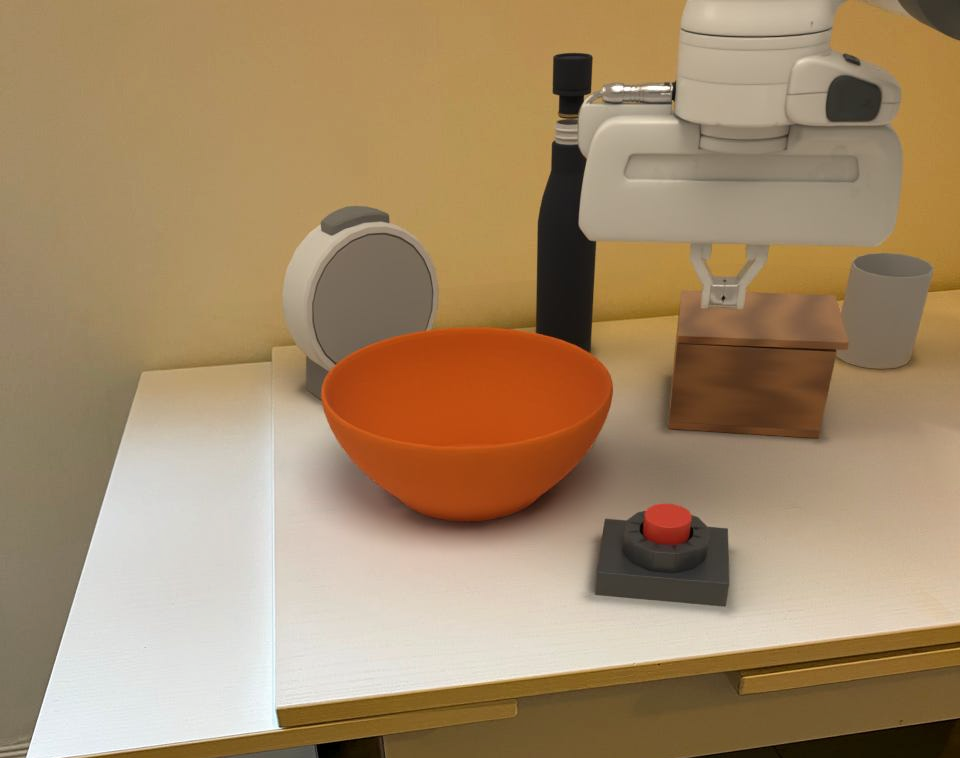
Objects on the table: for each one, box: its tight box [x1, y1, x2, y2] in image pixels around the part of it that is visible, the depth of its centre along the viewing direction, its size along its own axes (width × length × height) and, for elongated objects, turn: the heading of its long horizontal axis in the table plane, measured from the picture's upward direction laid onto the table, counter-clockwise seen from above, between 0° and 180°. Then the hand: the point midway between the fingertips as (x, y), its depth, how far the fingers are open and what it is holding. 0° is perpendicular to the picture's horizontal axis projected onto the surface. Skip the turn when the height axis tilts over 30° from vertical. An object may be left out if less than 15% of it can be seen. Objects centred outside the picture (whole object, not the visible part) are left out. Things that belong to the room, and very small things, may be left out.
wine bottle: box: [535, 52, 597, 354], centre depth 106 cm, size 6×6×30 cm
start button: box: [643, 503, 692, 545], centre depth 77 cm, size 4×4×2 cm
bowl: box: [320, 326, 614, 522], centre depth 89 cm, size 25×25×10 cm
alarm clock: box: [281, 205, 440, 401], centre depth 104 cm, size 16×10×18 cm, turn 126°
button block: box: [594, 510, 730, 607], centre depth 79 cm, size 10×8×4 cm
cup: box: [836, 252, 935, 370], centre depth 110 cm, size 8×8×10 cm
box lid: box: [678, 289, 849, 350], centre depth 98 cm, size 16×13×1 cm
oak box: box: [667, 305, 837, 439], centre depth 101 cm, size 15×13×9 cm
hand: (721, 306), depth 69 cm, fingers closed
